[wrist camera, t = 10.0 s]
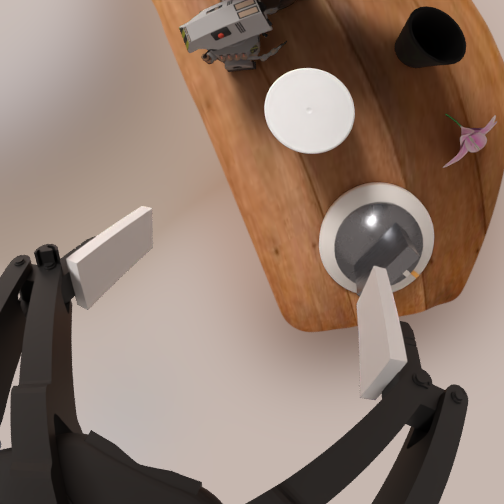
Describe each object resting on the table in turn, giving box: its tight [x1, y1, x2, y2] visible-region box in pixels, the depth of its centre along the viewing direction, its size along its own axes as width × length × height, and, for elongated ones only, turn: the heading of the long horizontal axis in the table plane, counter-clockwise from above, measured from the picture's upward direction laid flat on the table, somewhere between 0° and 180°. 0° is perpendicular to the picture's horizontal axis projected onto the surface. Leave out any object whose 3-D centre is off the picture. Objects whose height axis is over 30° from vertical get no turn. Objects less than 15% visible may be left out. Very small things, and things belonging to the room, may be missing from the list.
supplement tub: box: [264, 68, 355, 154], centre depth 31 cm, size 10×10×15 cm
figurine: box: [179, 0, 287, 72], centre depth 28 cm, size 9×12×15 cm
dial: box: [334, 202, 423, 296], centre depth 39 cm, size 15×15×9 cm
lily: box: [443, 114, 497, 168], centre depth 29 cm, size 12×12×10 cm
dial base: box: [319, 182, 434, 293], centre depth 44 cm, size 20×20×2 cm
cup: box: [395, 7, 466, 68], centre depth 24 cm, size 8×8×12 cm
